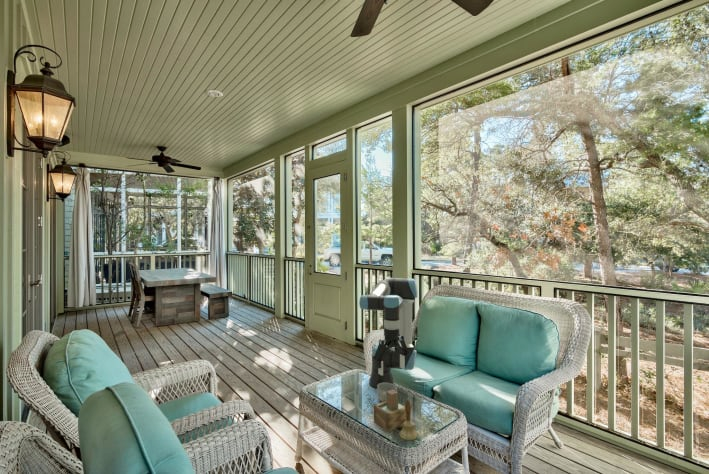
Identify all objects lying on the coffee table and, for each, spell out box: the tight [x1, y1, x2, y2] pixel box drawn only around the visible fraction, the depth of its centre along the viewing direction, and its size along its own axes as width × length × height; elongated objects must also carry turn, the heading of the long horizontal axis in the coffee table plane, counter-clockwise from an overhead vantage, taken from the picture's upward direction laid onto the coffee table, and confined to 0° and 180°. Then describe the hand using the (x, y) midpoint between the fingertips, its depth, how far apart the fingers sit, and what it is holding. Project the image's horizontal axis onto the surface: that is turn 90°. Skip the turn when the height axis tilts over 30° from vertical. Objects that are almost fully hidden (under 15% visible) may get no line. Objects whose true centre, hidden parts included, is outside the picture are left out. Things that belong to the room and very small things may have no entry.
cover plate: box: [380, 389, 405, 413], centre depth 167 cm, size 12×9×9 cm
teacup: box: [376, 382, 398, 403], centre depth 186 cm, size 14×11×8 cm
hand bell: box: [398, 399, 418, 441], centre depth 156 cm, size 8×8×16 cm
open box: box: [373, 401, 412, 432], centre depth 167 cm, size 14×11×8 cm
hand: (391, 371), depth 166 cm, fingers open, 13 cm apart
